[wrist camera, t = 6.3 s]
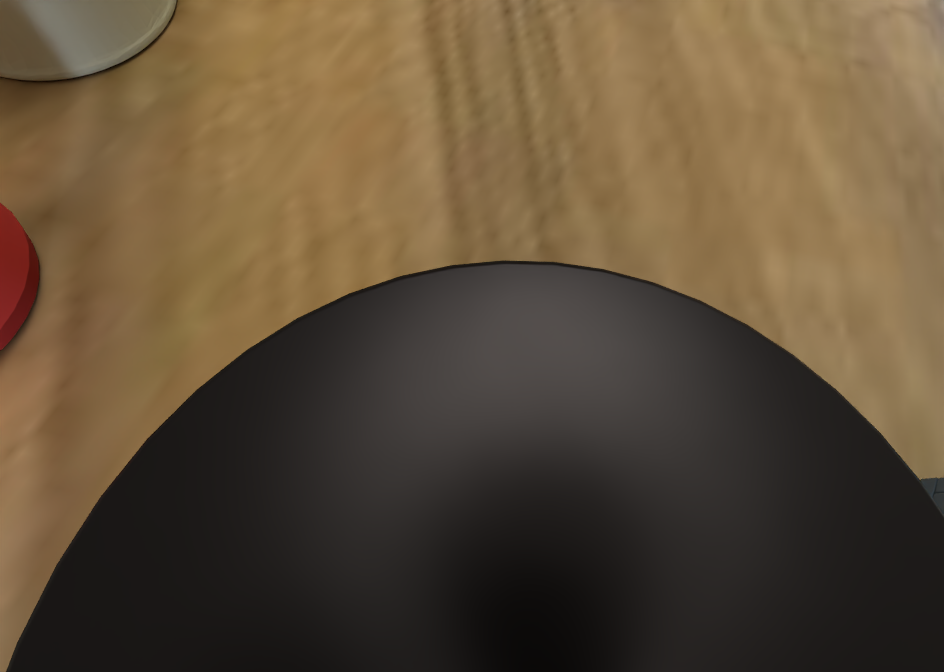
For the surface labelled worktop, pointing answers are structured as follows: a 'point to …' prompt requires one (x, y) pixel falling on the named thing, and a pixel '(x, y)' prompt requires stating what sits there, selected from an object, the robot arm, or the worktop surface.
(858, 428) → the travel mug
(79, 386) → the worktop surface
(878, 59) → the worktop surface
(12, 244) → the canned food
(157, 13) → the can
